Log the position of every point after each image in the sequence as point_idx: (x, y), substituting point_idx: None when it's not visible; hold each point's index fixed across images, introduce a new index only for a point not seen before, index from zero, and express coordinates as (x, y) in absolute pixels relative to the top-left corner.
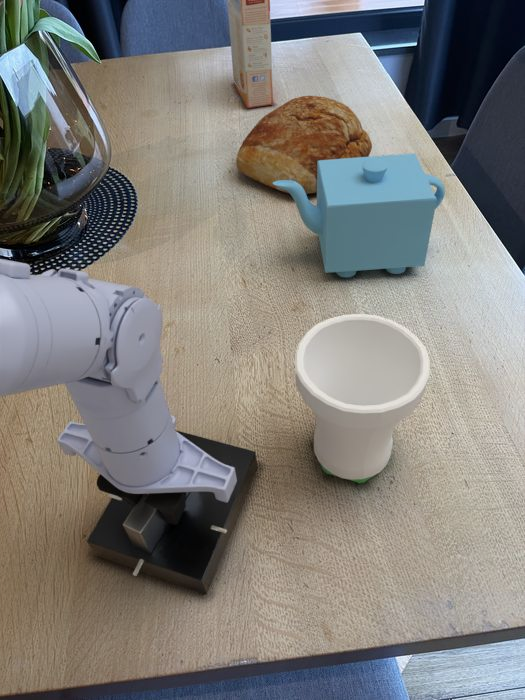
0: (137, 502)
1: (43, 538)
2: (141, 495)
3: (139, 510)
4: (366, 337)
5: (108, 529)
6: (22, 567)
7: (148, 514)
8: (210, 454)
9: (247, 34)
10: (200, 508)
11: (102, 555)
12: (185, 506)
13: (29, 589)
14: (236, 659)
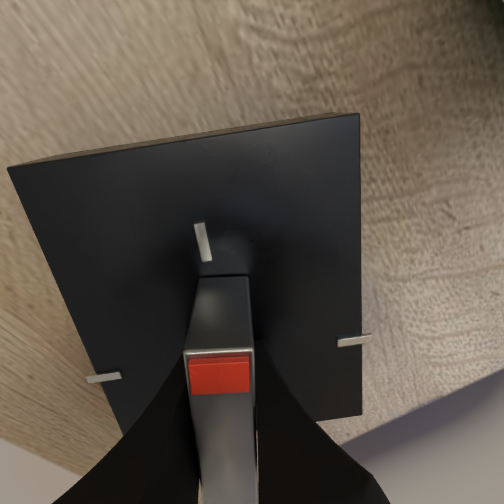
0: (198, 480)
1: (45, 411)
2: (193, 464)
3: (220, 496)
4: None
5: None
6: (60, 447)
7: (247, 494)
8: (236, 185)
9: None
10: (293, 319)
11: None
12: (266, 343)
13: (99, 459)
14: (415, 407)
